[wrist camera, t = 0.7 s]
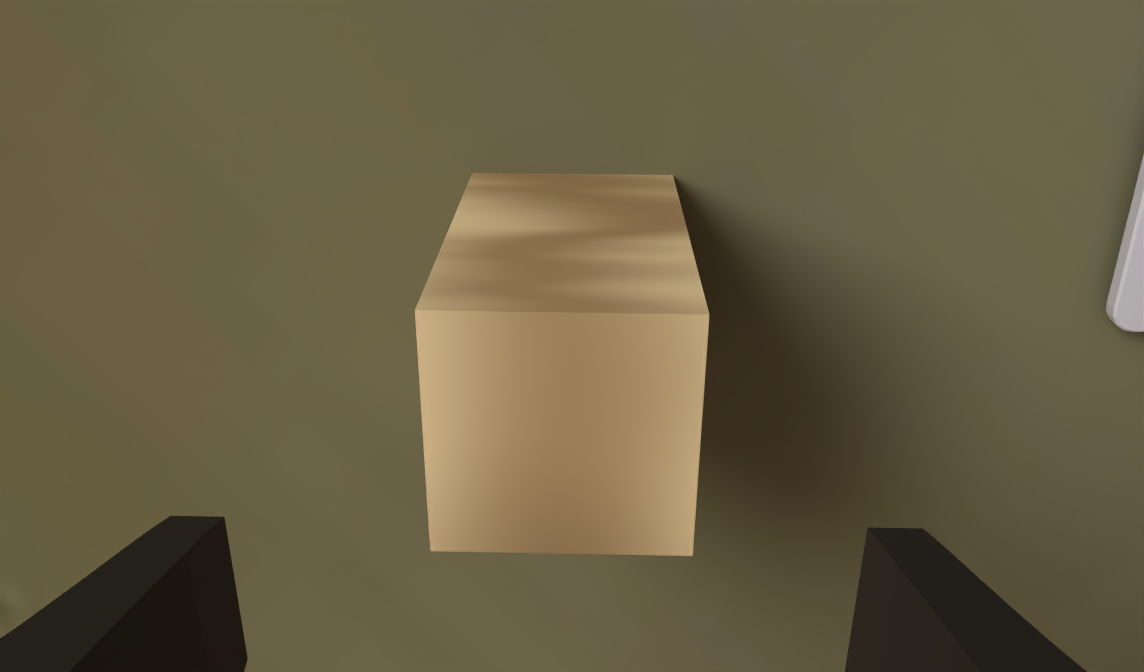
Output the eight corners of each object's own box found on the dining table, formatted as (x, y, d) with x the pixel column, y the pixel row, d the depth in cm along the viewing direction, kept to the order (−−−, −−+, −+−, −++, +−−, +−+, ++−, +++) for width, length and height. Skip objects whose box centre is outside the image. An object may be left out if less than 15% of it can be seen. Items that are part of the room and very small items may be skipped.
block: (672, 174, 20) (710, 314, 14) (663, 355, 22) (692, 555, 15) (472, 172, 20) (415, 310, 14) (479, 353, 22) (429, 550, 15)
